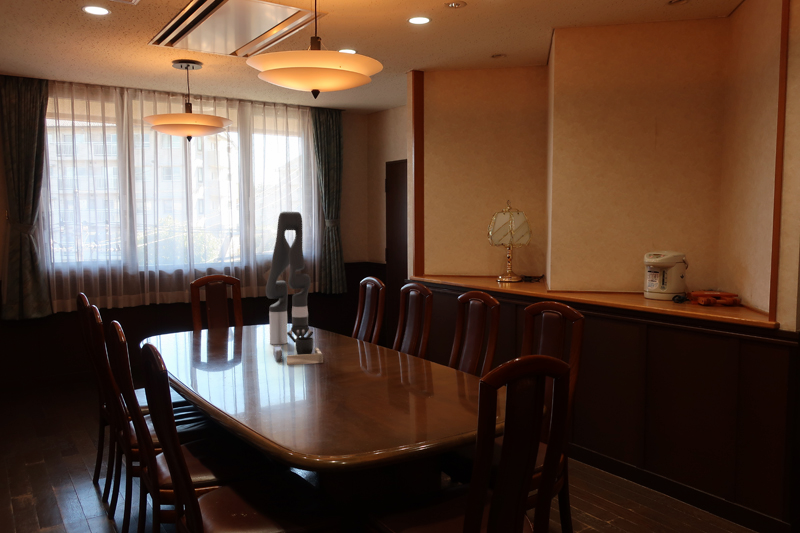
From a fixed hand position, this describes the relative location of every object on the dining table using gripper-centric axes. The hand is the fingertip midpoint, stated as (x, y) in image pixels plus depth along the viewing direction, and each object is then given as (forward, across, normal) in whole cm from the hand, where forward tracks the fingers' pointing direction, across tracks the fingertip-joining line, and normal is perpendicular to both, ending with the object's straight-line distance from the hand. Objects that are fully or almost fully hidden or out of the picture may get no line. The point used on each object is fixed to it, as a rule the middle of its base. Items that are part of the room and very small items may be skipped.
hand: (300, 350), depth 288 cm
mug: (+2, 0, +7) cm, 7 cm away
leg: (+2, +11, +3) cm, 11 cm away
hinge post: (+2, +11, +11) cm, 16 cm away
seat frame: (+2, 0, +11) cm, 12 cm away
